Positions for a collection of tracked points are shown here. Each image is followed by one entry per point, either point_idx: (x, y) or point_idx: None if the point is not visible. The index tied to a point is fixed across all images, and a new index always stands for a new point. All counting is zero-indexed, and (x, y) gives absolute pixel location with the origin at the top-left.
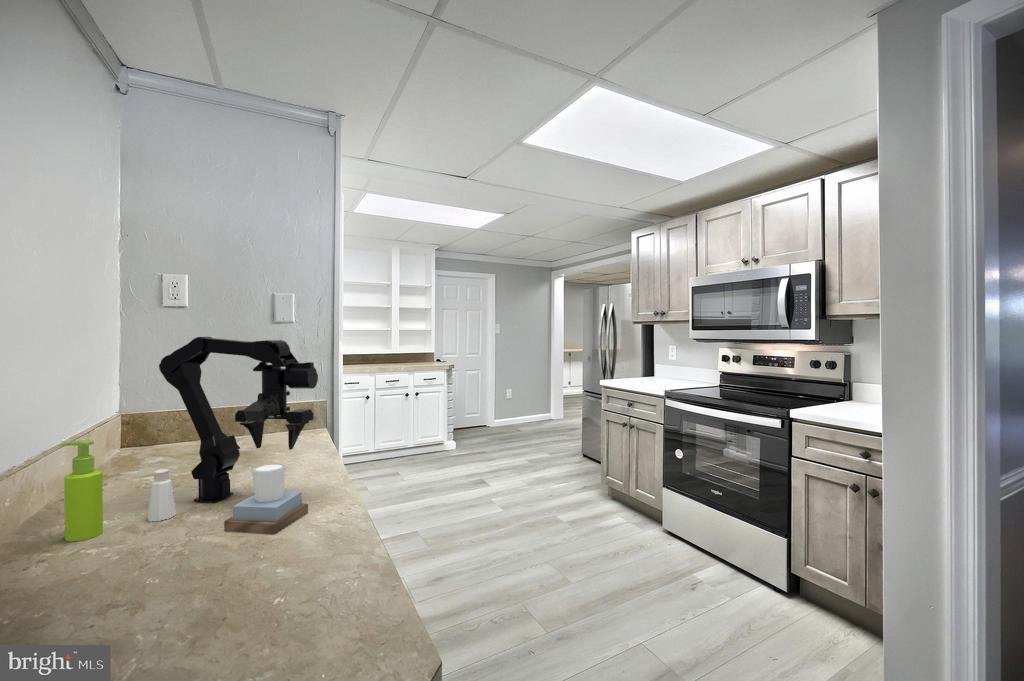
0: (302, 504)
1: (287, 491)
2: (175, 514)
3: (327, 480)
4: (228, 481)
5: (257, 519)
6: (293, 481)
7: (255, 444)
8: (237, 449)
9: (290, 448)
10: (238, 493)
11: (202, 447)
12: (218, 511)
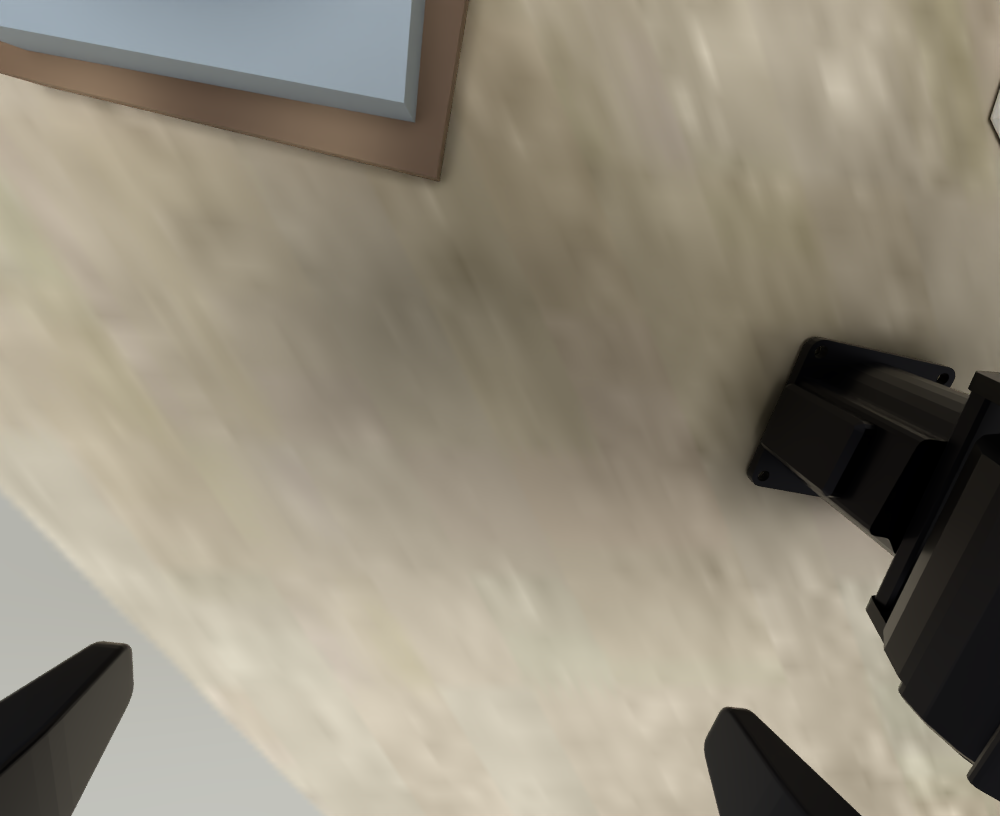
0: (18, 47)
1: (96, 43)
2: (997, 111)
3: (289, 677)
4: (824, 471)
5: None
6: (485, 663)
7: (801, 764)
8: (994, 739)
9: (79, 654)
10: (724, 494)
11: None
12: (734, 178)
